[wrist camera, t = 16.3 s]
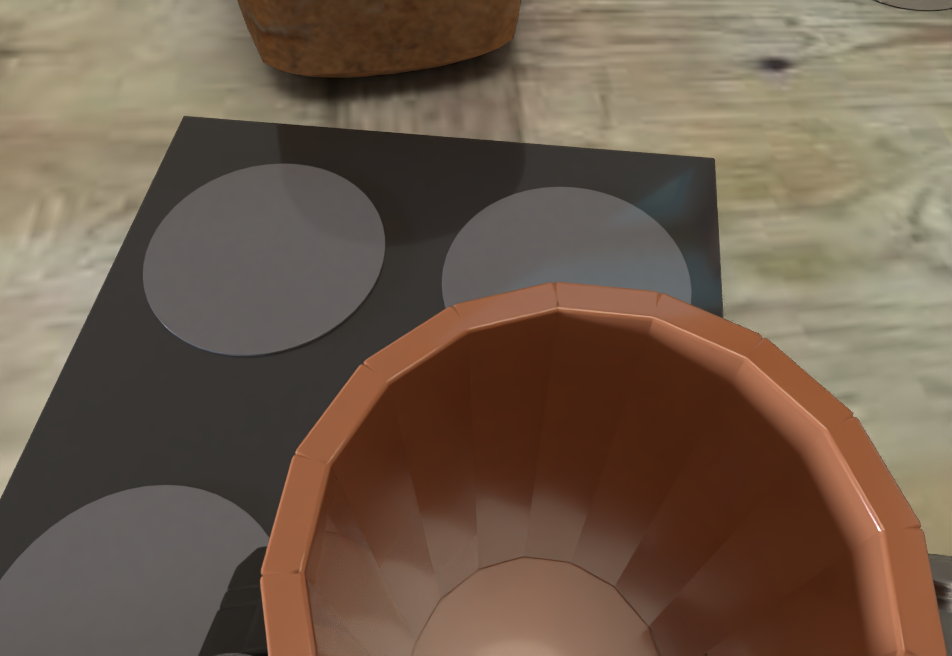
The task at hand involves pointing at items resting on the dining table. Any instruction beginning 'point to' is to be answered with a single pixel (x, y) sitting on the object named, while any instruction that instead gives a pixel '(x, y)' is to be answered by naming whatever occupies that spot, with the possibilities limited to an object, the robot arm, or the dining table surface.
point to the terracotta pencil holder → (592, 496)
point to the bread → (375, 33)
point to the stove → (288, 343)
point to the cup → (920, 4)
